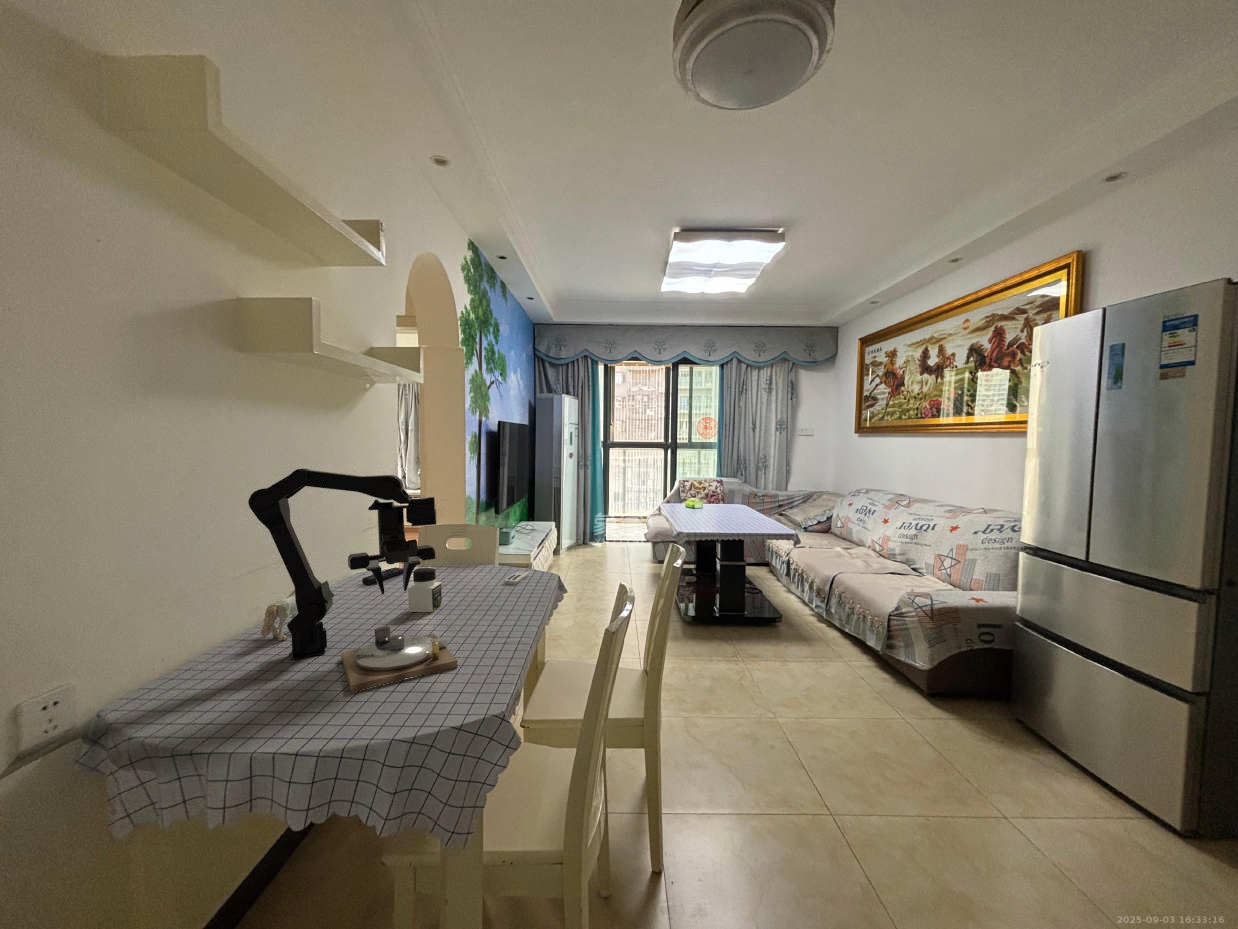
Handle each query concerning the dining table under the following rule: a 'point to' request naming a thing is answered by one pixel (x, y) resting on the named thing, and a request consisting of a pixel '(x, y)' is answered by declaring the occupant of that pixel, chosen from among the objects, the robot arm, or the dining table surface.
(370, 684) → the base board
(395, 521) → the robot arm
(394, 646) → the post
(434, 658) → the dowel
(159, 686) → the dining table surface
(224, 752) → the dining table surface
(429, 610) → the medicine bottle
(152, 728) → the dining table surface
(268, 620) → the unicorn figurine
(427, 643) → the flange plate
